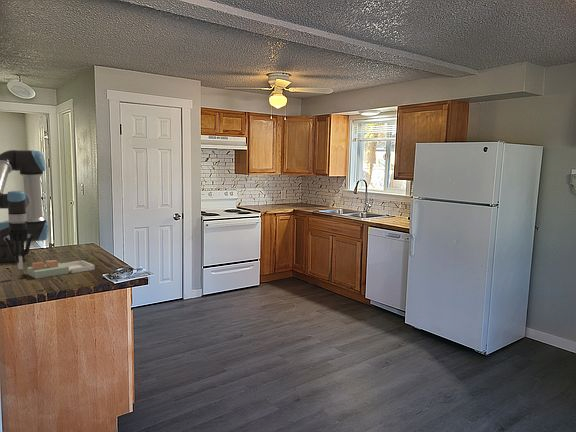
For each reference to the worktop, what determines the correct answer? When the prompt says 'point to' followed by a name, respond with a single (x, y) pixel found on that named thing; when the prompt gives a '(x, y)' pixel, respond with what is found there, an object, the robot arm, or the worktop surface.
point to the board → (48, 271)
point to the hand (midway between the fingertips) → (20, 268)
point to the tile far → (51, 263)
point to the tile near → (38, 265)
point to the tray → (79, 266)
